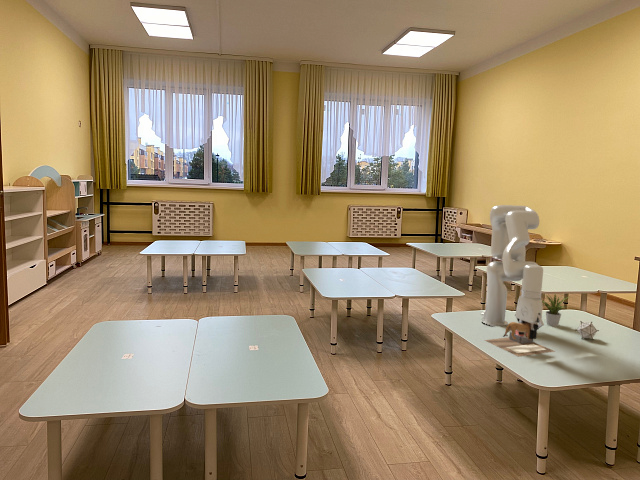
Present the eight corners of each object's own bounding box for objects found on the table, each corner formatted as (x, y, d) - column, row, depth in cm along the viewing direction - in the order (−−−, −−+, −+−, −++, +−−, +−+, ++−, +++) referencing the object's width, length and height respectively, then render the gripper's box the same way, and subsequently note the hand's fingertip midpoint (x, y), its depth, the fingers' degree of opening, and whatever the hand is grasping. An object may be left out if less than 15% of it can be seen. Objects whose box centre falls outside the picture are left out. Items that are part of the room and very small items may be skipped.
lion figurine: (532, 335, 203) (534, 315, 202) (539, 340, 198) (541, 319, 196) (499, 335, 201) (501, 315, 200) (505, 340, 196) (507, 319, 195)
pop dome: (512, 337, 212) (513, 325, 211) (521, 336, 214) (522, 324, 213) (521, 341, 207) (522, 329, 207) (529, 340, 209) (531, 328, 209)
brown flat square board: (484, 342, 210) (484, 339, 210) (519, 338, 217) (519, 335, 217) (517, 359, 191) (518, 356, 191) (555, 354, 199) (555, 350, 198)
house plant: (558, 320, 248) (561, 289, 246) (575, 328, 235) (579, 296, 232) (532, 320, 246) (535, 289, 244) (549, 329, 233) (552, 296, 230)
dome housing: (508, 338, 213) (509, 332, 212) (521, 337, 216) (521, 330, 215) (520, 344, 206) (521, 337, 206) (533, 342, 209) (534, 335, 208)
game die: (586, 345, 222) (596, 327, 223) (594, 345, 214) (605, 326, 215) (568, 334, 224) (579, 316, 225) (576, 333, 215) (587, 315, 217)
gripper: (509, 290, 204) (505, 331, 206) (540, 300, 188) (536, 344, 190) (522, 289, 206) (519, 329, 209) (554, 298, 191) (550, 342, 193)
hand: (527, 336), depth 199 cm, fingers closed on lion figurine, 5 cm apart
